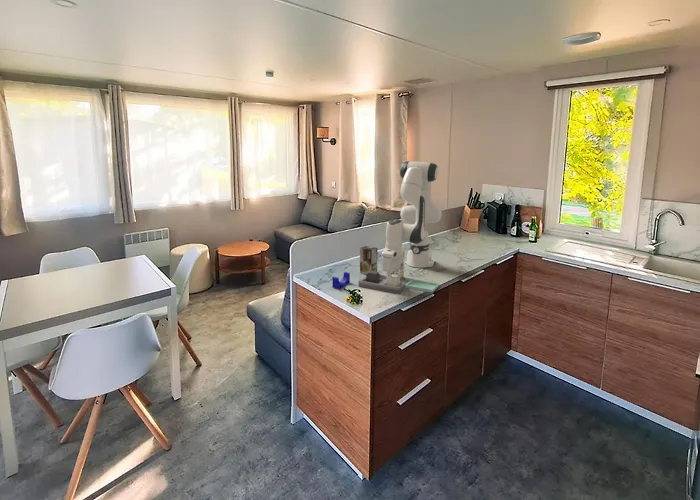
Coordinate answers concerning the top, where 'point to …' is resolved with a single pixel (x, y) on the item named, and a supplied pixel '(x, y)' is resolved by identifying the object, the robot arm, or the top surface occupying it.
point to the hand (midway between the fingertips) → (393, 274)
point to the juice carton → (401, 268)
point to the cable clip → (343, 282)
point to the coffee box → (368, 259)
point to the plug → (393, 281)
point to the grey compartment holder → (379, 283)
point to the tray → (422, 285)
